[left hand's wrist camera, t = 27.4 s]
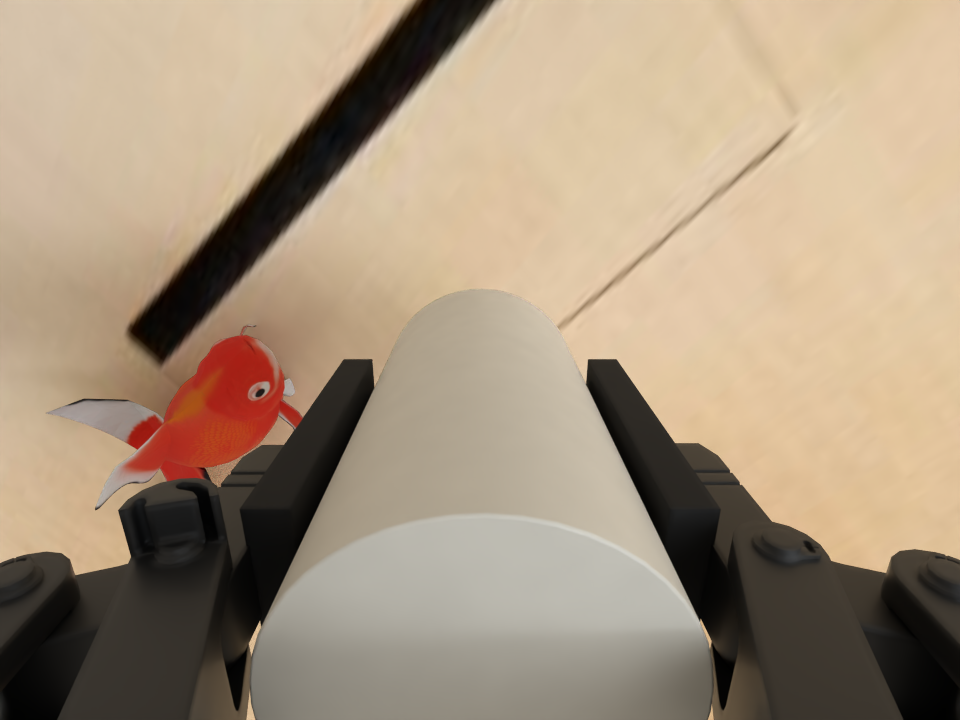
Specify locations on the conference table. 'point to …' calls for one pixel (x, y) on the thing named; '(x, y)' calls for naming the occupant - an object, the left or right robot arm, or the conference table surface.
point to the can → (481, 549)
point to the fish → (196, 416)
